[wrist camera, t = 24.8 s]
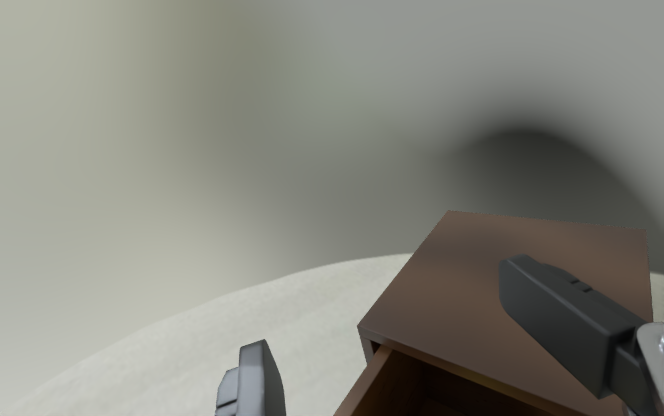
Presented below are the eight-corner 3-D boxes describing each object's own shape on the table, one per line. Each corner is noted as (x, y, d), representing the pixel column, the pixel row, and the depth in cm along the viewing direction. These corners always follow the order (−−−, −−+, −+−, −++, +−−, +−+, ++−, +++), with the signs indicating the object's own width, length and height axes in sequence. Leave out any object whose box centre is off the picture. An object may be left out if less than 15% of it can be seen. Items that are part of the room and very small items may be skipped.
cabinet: (622, 580, 15) (663, 444, 11) (385, 437, 23) (356, 325, 19) (624, 349, 25) (646, 228, 21) (456, 303, 33) (447, 209, 29)
